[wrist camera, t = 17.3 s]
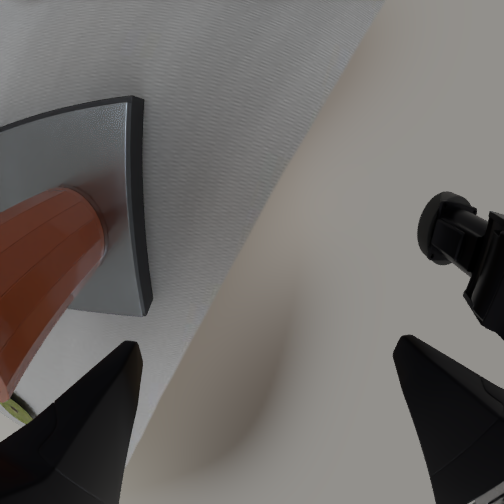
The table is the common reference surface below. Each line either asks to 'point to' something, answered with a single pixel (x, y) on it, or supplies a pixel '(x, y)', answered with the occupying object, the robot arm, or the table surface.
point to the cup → (42, 272)
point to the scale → (89, 188)
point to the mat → (16, 411)
